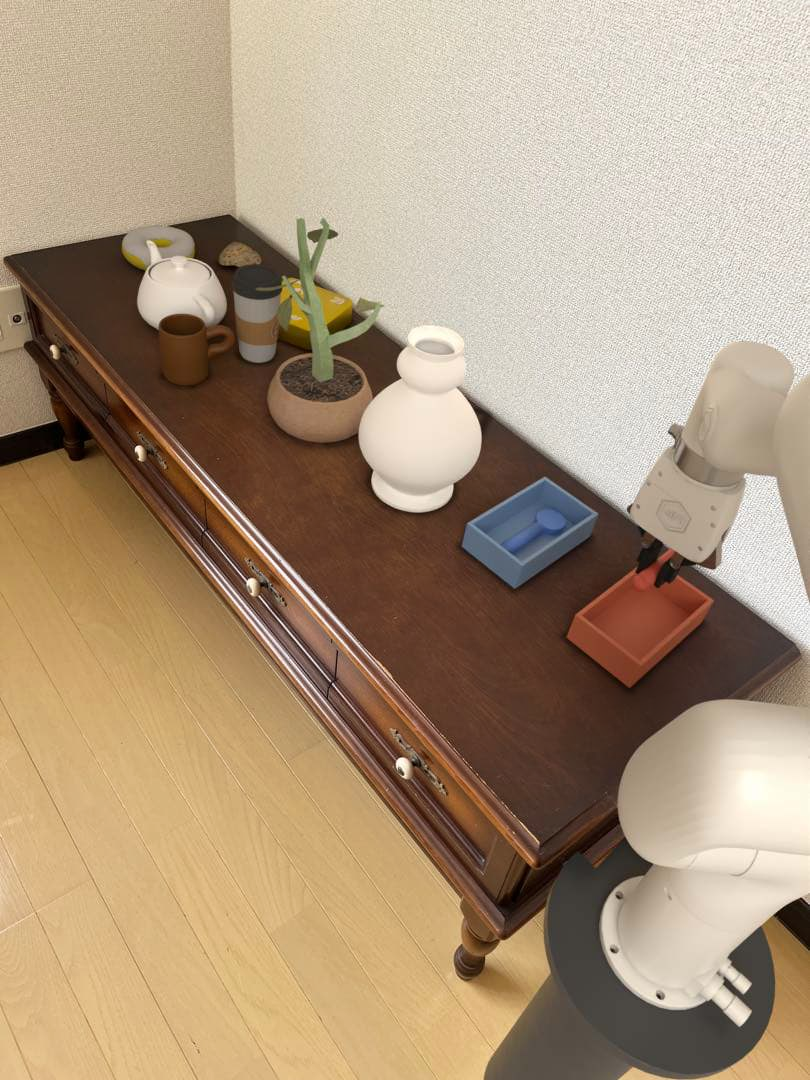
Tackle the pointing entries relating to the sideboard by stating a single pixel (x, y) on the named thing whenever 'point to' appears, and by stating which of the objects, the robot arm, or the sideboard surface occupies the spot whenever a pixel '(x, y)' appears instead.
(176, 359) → the mug
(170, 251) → the donut
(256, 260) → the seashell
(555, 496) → the blue bin
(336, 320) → the element tile
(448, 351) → the decorative vase
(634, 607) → the red bin
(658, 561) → the red spoon
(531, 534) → the blue spoon
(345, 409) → the potted plant
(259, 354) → the coffee cup
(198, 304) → the teapot
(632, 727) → the sideboard surface
